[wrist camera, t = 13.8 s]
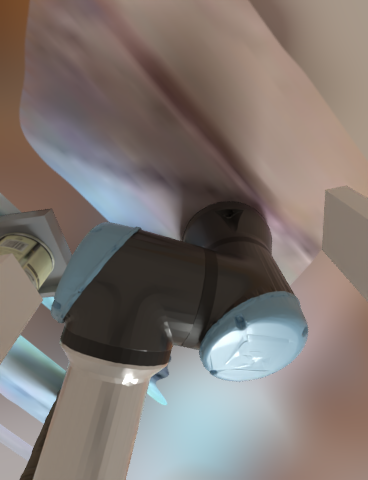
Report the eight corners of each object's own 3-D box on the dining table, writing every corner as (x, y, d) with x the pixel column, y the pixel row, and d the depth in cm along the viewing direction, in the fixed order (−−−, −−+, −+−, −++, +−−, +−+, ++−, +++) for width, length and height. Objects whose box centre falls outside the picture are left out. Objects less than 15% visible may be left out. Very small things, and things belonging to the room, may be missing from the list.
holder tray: (51, 208, 43) (44, 215, 40) (84, 283, 51) (79, 293, 48) (-39, 221, 44) (-52, 228, 41) (6, 292, 52) (-2, 302, 49)
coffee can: (13, 283, 49) (-43, 346, 37) (-17, 236, 44) (-92, 291, 32) (64, 275, 49) (25, 337, 36) (40, 227, 44) (-15, 280, 31)
